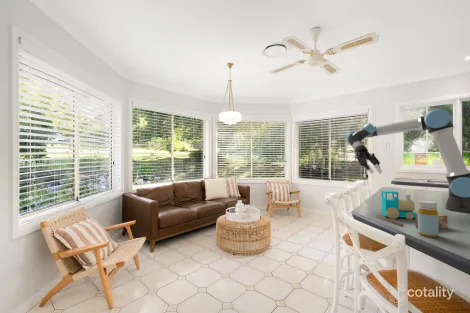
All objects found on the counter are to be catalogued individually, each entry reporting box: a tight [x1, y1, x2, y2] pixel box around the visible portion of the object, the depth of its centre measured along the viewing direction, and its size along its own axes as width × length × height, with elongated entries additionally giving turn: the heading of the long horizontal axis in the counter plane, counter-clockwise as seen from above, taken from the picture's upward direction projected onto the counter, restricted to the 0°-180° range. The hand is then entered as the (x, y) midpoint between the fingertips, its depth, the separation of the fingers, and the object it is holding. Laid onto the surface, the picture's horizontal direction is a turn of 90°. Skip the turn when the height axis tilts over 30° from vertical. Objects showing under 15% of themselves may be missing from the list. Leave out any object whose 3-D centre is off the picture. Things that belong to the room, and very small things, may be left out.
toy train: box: [380, 189, 416, 220], centre depth 132 cm, size 8×17×15 cm, turn 76°
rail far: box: [375, 214, 404, 227], centre depth 125 cm, size 1×18×1 cm, turn 5°
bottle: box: [417, 199, 440, 238], centre depth 103 cm, size 7×7×15 cm
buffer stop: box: [415, 213, 448, 229], centre depth 114 cm, size 14×5×6 cm, turn 96°
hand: (376, 172), depth 150 cm, fingers open, 5 cm apart
